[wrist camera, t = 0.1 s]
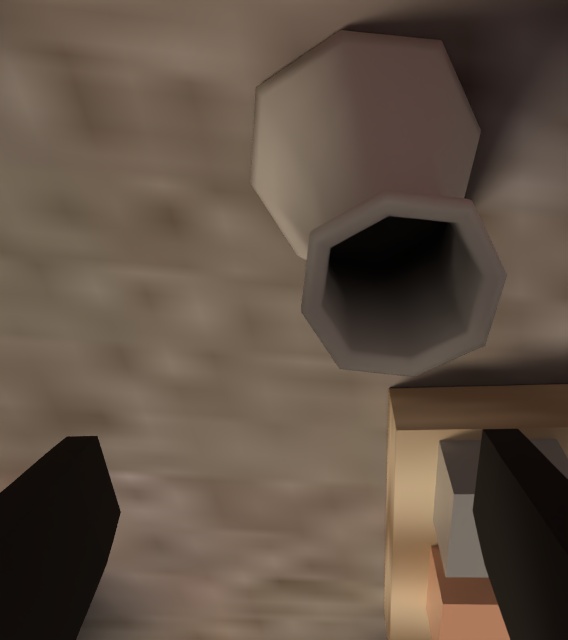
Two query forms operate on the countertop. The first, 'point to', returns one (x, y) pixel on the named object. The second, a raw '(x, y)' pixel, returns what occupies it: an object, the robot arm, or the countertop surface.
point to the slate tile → (468, 502)
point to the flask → (379, 200)
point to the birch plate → (421, 467)
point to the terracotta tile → (461, 606)
